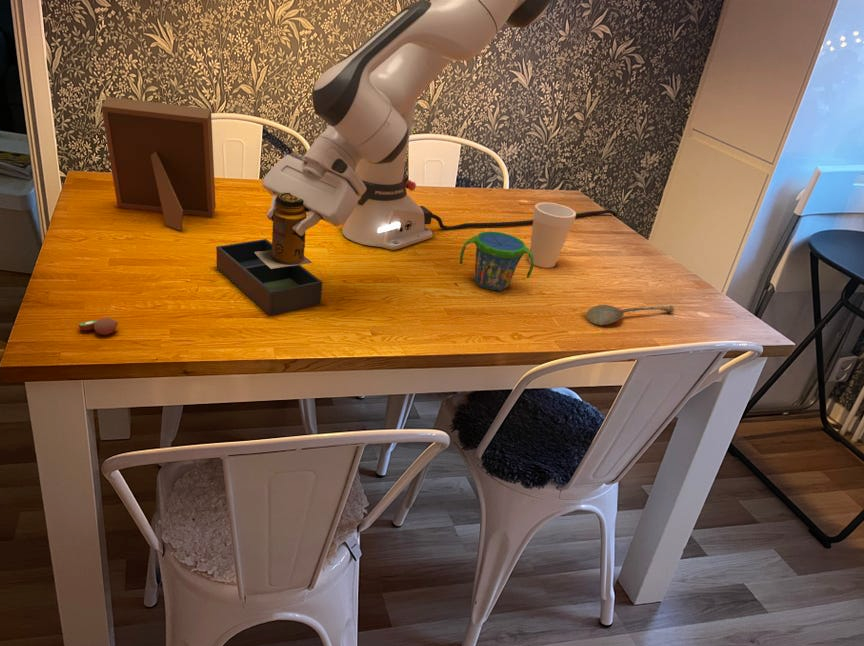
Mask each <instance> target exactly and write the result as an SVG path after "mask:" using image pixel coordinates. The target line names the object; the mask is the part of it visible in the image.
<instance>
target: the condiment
mask: <svg viewBox="0 0 864 646" xmlns="http://www.w3.org/2000/svg"><path fill="white" fill-rule="evenodd" d="M303 202H304V201H303V199H299V198H297V197H295V196H293V195H292V194H290V193H281V194H279V195H278V196H277V197H276V205H275V207H276V208H275V210H274V212H273V221H272V233H271V236H272V237H271V243H272V250H269V251H258V252H254V253H255V254H256V255H257V256H258V257H259V258H260V259H261V260H262V261H263V262H264V263H265V264H266V265H267V266H268V267H270V268H271V269H274V268H280V267H286V266H296V265H301V266H303V265H310V264H312V263H313V262H312V261H311V260H310V259H309V258H307V257H306V256H305V247H306V234H307V233H306V231H305V233H304V234H303V235H302V236H300V235H298V234H296V233H295V232H294V231H293V230H292V228H293V226H294V225H295V223H296V222H297V221H298V222H301V221H302V220H304V219H305V218H307V217H308V216H307V214H308V213H307V212H306V211H305V207H304V206H303Z"/></svg>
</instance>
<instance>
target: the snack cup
mask: <svg viewBox="0 0 864 646" xmlns="http://www.w3.org/2000/svg"><path fill="white" fill-rule="evenodd" d="M471 243H473V244H474V245H475V246H476V249H475V261H474V274H473V277H474V278H473V280H474V281H475V283H476V284H477V285H478V286H479V287H481V288H482V289H487V290H490V291H491V290H492V291H494V290H495V291H497V292H500V291H502V290H505V289H507V288H508V287H509V285H510V283H511V281H512V278H513V276H514V274H515V271H516V269H517V266H518V265H519V262H520V261H521V259H522V258H523V257H524V255H525V254H527V255H528V258H529V257H530V260H531V262H530V266H529V269H528V271H527V273H526V278H527V279H529V277H530V276H531V274H532V272H533V269H534V264H533V255H532V253H531V251H530V248H528V247H527V246H526V244H525V242H524V241H523V240H521V239H520V238H518V237H516V236H514V235H512V234H509V233H505V232H500V231H482V232H479V233H477V235H475V236H472V237H470V238H468V239H467V240H466V241H465V242H464V243H463V245H462V247H461V250H460V255H459V264H460V265H462V264H463V262H464V261H463V260H464V254H465V250H466V246H467V245H469V244H471Z"/></svg>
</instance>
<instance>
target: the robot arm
mask: <svg viewBox="0 0 864 646" xmlns="http://www.w3.org/2000/svg"><path fill="white" fill-rule="evenodd" d="M551 2H552V0H429V1H428V0H417V1H414V2H412V3H410V4H409V5H407V6H406V7H404V8H403V9H401V10H400V11H399V12H398V13H396V14H395V15H393V17H391V18H390V19H389V20H388V21H386V22H385V23H384V24H383V25H382V26H381V27H380V28H379V29H377V30H376V31H374V32H373V34H371V35H370V36H369V37H368V38H366V39H365V40H364V41H363V42H362V43H361V44H360V45H358V46H357V47H355V49H354V50H353V51H351V52H350V53H349V54H348V55H347V56H345V57H344V58H342V59H341V60H339V61H338V62H336V63H335V64H334V65H333V66H331V67H330V68H328V69H326V70H325V72H323V73H322V74H321V75H320V76H319V77H318V79H317V80H316V82H315V83H314V84H313V86H312V91H311V92H312V93H311V96H312V97H311V99H312V105H313V111H314V114H315V115H316V116H318V118H320V119H321V120H322V121H324V122H325V123H326V124H327V127H326V129H325V130H324V131H323V132H321V133H320V134H319V135H318V136H317V137H316V139H315V140H314V141H313V143H312V144H311V145H310V147H309V148H308V150H307V151H306V152H305V154H304V155H302V154H300V153H299V152H293V153H289V154H286V155H284V156H283V157H282V158H281V159H279V160H278V161H277V162H276V163H275V165H273V167H272V168H271V169H269V171H268V172H267V173H266V174H265V175H264V177H263V179H262V183H261V185H262V188H264V190H265V191H266V192H268V194H270V195H271V196H272V197H271V202H270V203H271V204H270V208H269V210H268V211H267V212H266V214H265V215H266V218H267V219H268V220H269V221H271V222H273V212H274V210H275V208H276V207H275V205H276V197H277V196H278V195H279V194H281V193H290V194H292V195H293V196H295V197H297V198H299V199H303V201H304V202H303V206H304V207H305V211H306V214H307V216H306V218H305V219H304V220H302V221H301V222H298V221H297V222H296V223H295V225H294V226H293V228H292V230H293V231H294V232H295V233H296V234H298V235H300V236H302V235H303V234H304V233H305V232H306V231H308V230H309V229H310V228H312V227H314V226H316V225H317V224H318V223H319V222H320V221H321V220H322V221H324V222H325V223H328V224H330V225H332V226H334V227H340V226H342V225H343V226H342V229H341V233H342V235H343V237H345V238H346V239H348V240H350V241H352V242H354V243H356V244H360V245H363V246H370V247H377V248H384V249H386V250H393V251H394V250H399V249H402V248H406V247H408V246H412V245H414V244H416V243H417V244H418V243H420V242H423V241H427V240H429V239H432V238H433V231H432V230H431V229H430V228H429V227H428V226H427V225H431V224H432V220H433V219H434V220H436V221H437V223H438V227H440V229H442V230H444V231H453V230H459V229H464V228H485V227H487V228H488V227H509V226H511V227H512V226H522V225H524V226H525V225H533V219H527V220H516V221H498V222H497V221H496V222H465V223H461V224H456V225H450V226H448V225H444V223H443V220H442V218H441V217H440V216H439V215H437V214H434V213H433V212H432V211H431V210H429V209H428V208H426V206H424V205H419V204H418V203H417V202H416V201H415V200H414V199H412V198H411V196H409V195H408V193H407V189H408V190H409V191H411V192H413V191H415V189H417V183H416V182H414V181H412V180H410V179H408V180H406V179H405V178H404V173H405V165H406V160H407V159H406V158H407V152H408V145H409V140H410V136H411V131H412V127H413V121H414V116H415V111H416V107H417V100H418V98H419V97H420V96H421V95H422V94H423V92H424V91H426V89H427V88H428V87H429V86H430V85H431V84H432V82H434V81H435V80H436V78H437V77H438V76H439V75H440V74H441V72H443V71H444V69H446V67H447V66H448V65H449V64H450V63H451V62H452V61H454V62H463V61H468V60H471V59H474V58H475V57H477V56H478V55H479V54H480V53H481V52H483V51H484V50H485V48H486V47H488V46H489V44H490V43H491V42H492V41H493V39H494V38H495V37H496V36H497V34H498V33H499V32H500V31H501V29H502V28H503V26H504V25H505V24H507V25H509V26H511V27H513V28H517V29H518V28H519V29H520V28H521V29H523V28H524V29H525V28H526V27H528V26H529V25H532V24H533V23H535V22H537V21H538V20H540V18H541V17H542V16H543V15H544V14H545V13H546V11H547V10H548V9H549V6H550V4H551ZM604 214H611V215H612V216H613V217H618V214H617V212H616V211H615V210H613V209H603V210H593V211H592V210H591V211H584V212H579V213H576V217H575V218H582V217H588V216H597V215H598V216H599V215H604ZM305 234H306V233H305Z"/></svg>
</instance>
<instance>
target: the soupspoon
mask: <svg viewBox="0 0 864 646" xmlns="http://www.w3.org/2000/svg"><path fill="white" fill-rule="evenodd" d="M648 310H649V311H650V310H660V311H666V312H667V313H668V314H673V313H674V312H675V307H674V306H673V305H667V306H666V305H665V306H663V305H661V306H643V307H631V308H630V307H629V308H624V309H623V308H622V309H620V308H618V307H615V306H613V305H610V304H597V305H594V306H592V307H591V308H589V309H588V310H587V312H586V314H585V317H586V320H587V321H588V322H589V323H592V324H593V325H596V326H605V325H606V326H607V325H610V324H613V323H615V322H618V321H619V320H621V319H622V318H623V317H624V313H629V312H636V311H648Z"/></svg>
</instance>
